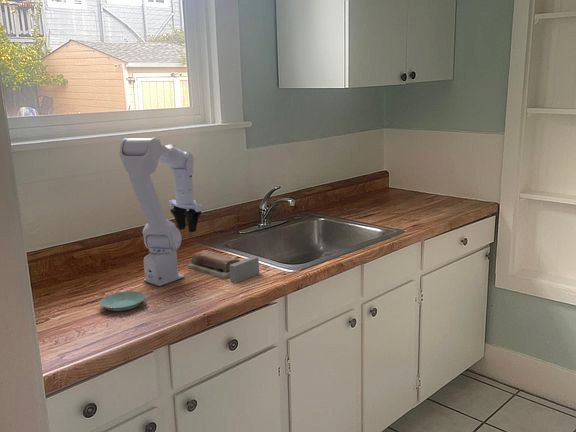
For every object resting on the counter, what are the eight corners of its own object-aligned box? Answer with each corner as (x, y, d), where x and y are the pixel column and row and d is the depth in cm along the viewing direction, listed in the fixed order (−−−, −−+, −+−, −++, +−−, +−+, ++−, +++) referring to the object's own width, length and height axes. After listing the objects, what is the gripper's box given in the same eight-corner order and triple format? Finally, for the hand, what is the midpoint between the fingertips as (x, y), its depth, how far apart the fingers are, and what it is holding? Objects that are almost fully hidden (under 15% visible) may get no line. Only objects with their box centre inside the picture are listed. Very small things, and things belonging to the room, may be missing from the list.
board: (235, 282, 170) (234, 266, 169) (230, 281, 171) (229, 265, 170) (259, 273, 177) (258, 257, 176) (254, 271, 178) (253, 256, 177)
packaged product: (185, 254, 184) (209, 246, 191) (186, 268, 185) (210, 260, 192) (223, 265, 172) (247, 256, 179) (224, 280, 173) (248, 271, 180)
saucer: (93, 315, 151) (92, 307, 150) (110, 298, 162) (109, 290, 162) (138, 315, 150) (137, 307, 149) (151, 298, 161) (151, 290, 161)
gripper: (208, 189, 183) (211, 231, 187) (179, 184, 193) (183, 224, 196) (190, 193, 178) (194, 236, 182) (162, 188, 188) (166, 229, 191)
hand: (187, 230), depth 189 cm, fingers open, 5 cm apart
